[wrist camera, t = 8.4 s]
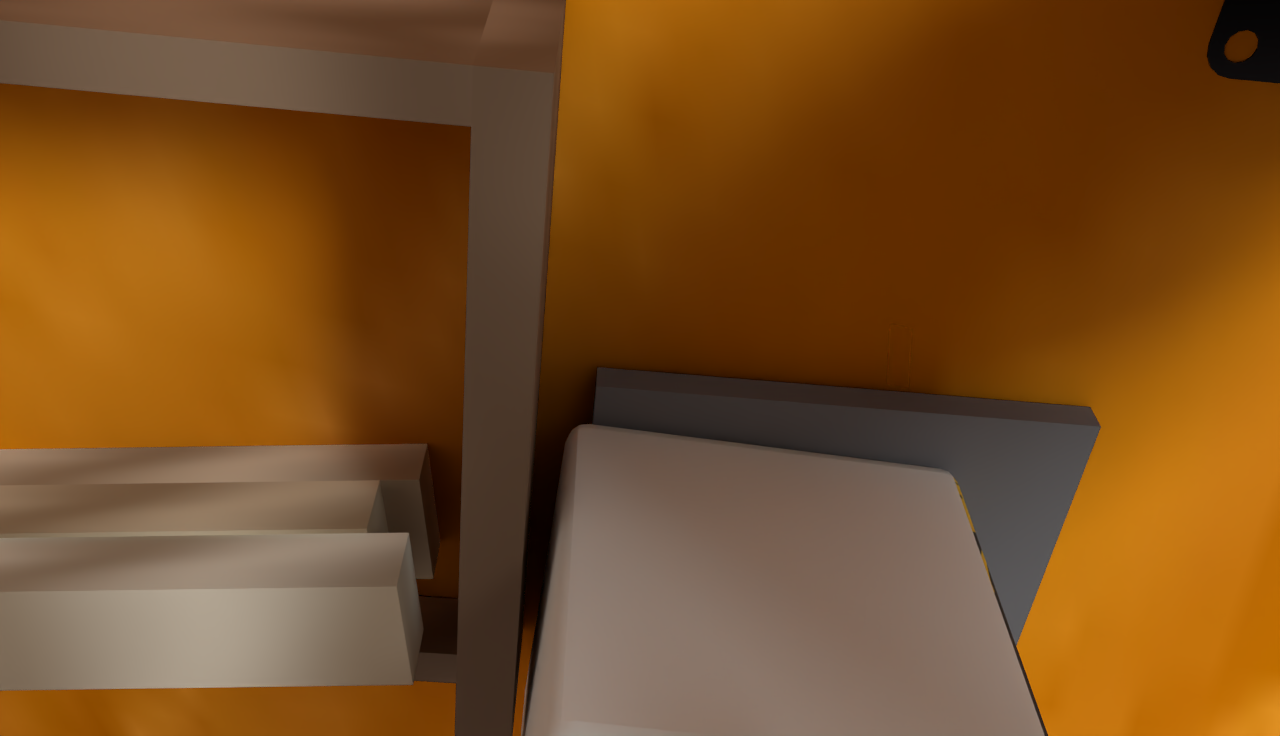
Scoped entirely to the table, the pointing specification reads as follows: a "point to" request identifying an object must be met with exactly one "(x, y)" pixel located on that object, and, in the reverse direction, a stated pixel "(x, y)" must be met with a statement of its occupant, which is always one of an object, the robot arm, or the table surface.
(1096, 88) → the table surface
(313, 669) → the offcut stack
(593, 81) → the table surface
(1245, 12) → the robot arm
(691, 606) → the medicine bottle
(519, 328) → the walnut rack
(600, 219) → the table surface
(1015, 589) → the rubber mat
